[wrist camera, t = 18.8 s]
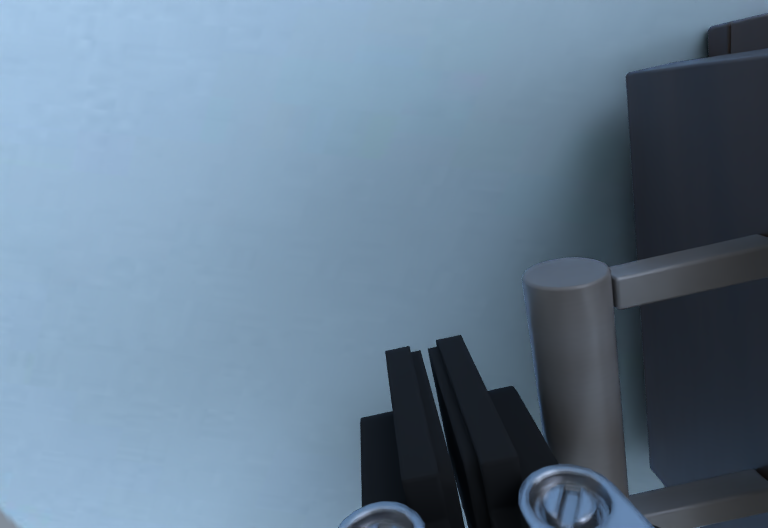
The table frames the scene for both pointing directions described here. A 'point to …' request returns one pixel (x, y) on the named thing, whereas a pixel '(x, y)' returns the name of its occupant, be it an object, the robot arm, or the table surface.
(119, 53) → the table surface
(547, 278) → the drawer
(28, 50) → the table surface
